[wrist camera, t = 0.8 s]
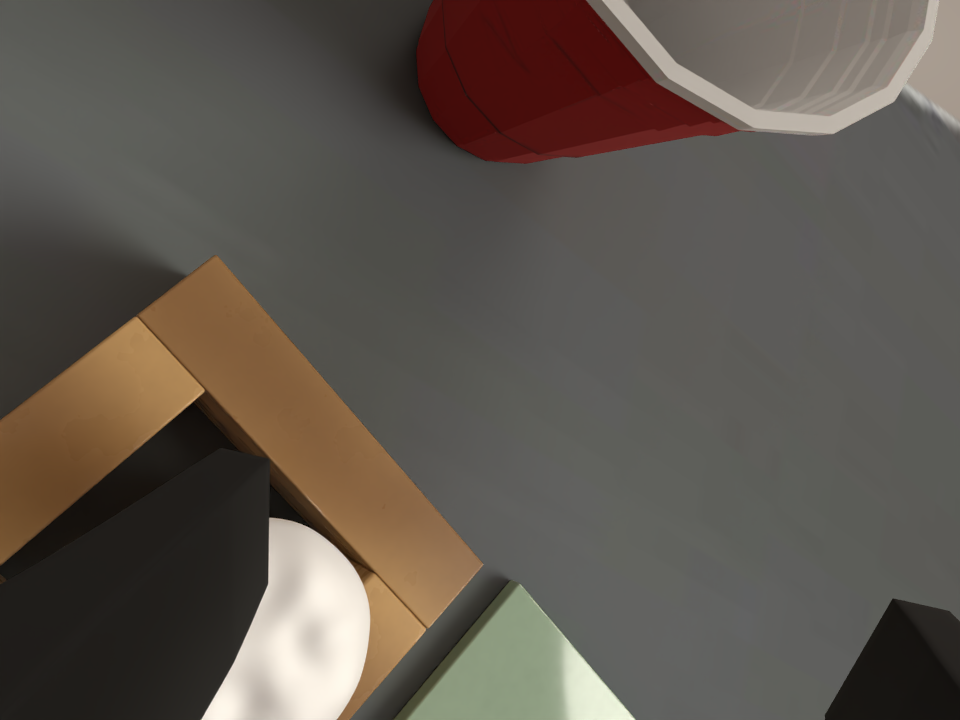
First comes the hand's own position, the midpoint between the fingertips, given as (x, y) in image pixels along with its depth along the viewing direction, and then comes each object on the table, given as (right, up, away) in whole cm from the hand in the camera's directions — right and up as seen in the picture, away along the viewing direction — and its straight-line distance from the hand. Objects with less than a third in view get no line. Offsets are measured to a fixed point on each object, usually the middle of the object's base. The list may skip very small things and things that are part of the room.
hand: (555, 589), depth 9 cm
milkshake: (-9, -2, +12) cm, 15 cm away
